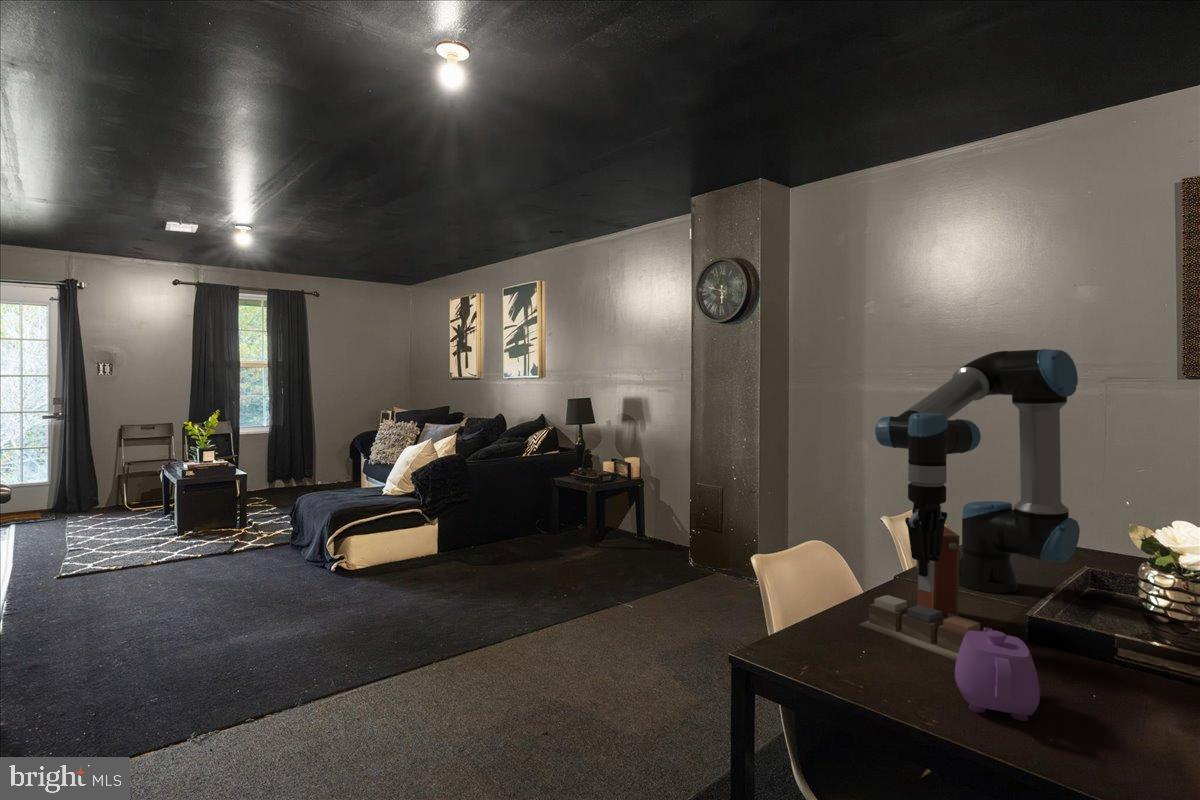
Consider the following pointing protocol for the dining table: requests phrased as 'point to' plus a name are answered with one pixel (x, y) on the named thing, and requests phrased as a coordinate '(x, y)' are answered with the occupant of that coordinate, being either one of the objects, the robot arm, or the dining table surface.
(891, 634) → the keypad board
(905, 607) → the ivory key
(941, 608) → the terracotta and grey box
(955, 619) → the terracotta key
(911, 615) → the graphite key
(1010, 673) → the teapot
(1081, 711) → the dining table surface
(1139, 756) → the dining table surface
